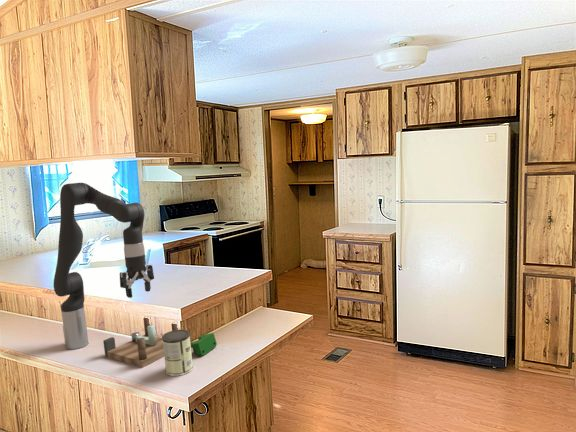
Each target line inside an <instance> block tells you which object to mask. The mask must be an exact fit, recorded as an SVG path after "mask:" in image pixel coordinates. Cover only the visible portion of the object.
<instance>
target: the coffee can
mask: <svg viewBox="0 0 576 432" xmlns="http://www.w3.org/2000/svg"><path fill="white" fill-rule="evenodd" d="M161 336H162V340H163V348H164V357H163V358H164V364H165V374H167V375H168V376H171V377H179V375H180V376H183V375H186V373H187V374H189V373H190V372H192V371H193V369H194V364H193V362H194V361H193V356H192V355H193V353H192V348H191V332H190V331H189V330H187V329H179V330H174V331H172V330H171V331H168V332H166V333H164V334H162V335H161ZM188 372H189V373H188Z"/></svg>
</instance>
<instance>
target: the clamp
mask: <svg viewBox="0 0 576 432" xmlns="http://www.w3.org/2000/svg"><path fill="white" fill-rule="evenodd" d="M197 339H198V340H196V341H190V343H191V349H192V350H193V353H194V354H197V356H199V357H201V356H205V355H206V354H208V353H209V352H211V350H213V349H214V348H215V347H217V345H218V344H217V340H216V336H215V334H214V332H211V333H205V334H202V335H200V336H198V337H197Z"/></svg>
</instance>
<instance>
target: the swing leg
mask: <svg viewBox="0 0 576 432" xmlns="http://www.w3.org/2000/svg"><path fill="white" fill-rule="evenodd" d="M147 329H148V337H144V336H143V335H140V332H139V331H135V332H132V333H131V341H133V342H137V339H139V338H145V344H148V345H150V346H154V345H156V344H157V343H156V328H155V325H154V324H151V325H149V326H147Z"/></svg>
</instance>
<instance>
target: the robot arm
mask: <svg viewBox="0 0 576 432" xmlns="http://www.w3.org/2000/svg"><path fill="white" fill-rule="evenodd" d="M59 196H60V197H59V199H60V200H59V201H60V202H59V203H60V204H59V205H60V223H59V235H58V250H57V251H58V252H57V260H56V267H55V272H54V276H53V277H54V278H53V289H54V290H53V292H54V294H55V295H56V296H58V297H62V298H63V297H66V296H68V297H67V299H65V300H64V301H63V302H61V304H60V310H61V319H62V320H61V321H62V330H63V331H62V333H63V338H64V345H65V349H67V350H77V349H81V348H83V347H86V346H88V344H89V335H88V330H87V329H88V327H87V321H86V313H85V304H84V303H85V291H84V281H83V280H84V279H83V277H82V276H81V275H82V274H81V273H79V272H77V271H73V272H70V270H71V267H72V265H73V263H74V262H75V260H76V259H77V258H78V256H79V255H80V253H81V252H82V249H83V240H84V239H83V238H84V233H83V231H82V228H81V226H80V225H79V224H78V221H77V220H76V218H75V209H76V208H75V207H76V206H80V205H85V204H92V205H95V206H96V208H97V210H99V211H100V212H101V213H104V214H107V215H109V216H112V217H113V218H114V219H115V220H117V221H118V222H120V223H130V224H129V226H128V227H126V228H125V229H123V231H122V235H123V237H122V239H123V254H124V263H125V267H126V271H124V272H123V271H122V272H119V287H120V288H121V289H125V295H126V297H127V298H130V299H132V298H133V289H132V286H133V284H134V283H135V281H139V280H141V279H142V280H143V281H144V282H143V283H144V291H145V292H151V288H152V287H151V281H152V280H154V279H155V275H154V269H153V265H152V264H147V261H146V252H145V246H144V241H143V240H144V239H143V227H144V221H145V209H144V207H143V205H142V204H141V203H139V202H131V203H130V202H129V203H124V201H123V200H121V199H119V198H117V197H114V196H111V195H108V194H106V193H103V192H101V191H99V190H98V189H96V188H95V187H93V186H91V185H90V184H87V183H85V182H74V183H72V182H71V183H65V184H63V185H62V186H61V189H60V193H59Z"/></svg>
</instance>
